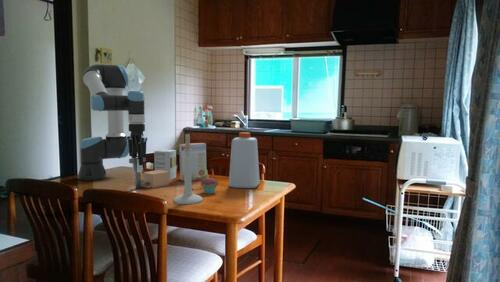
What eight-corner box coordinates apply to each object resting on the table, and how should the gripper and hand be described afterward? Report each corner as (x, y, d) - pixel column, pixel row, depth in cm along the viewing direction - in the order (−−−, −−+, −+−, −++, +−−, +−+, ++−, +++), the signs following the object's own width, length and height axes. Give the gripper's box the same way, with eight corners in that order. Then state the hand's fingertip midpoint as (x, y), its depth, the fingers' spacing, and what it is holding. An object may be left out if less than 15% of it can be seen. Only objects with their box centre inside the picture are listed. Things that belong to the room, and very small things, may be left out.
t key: (129, 189, 179) (128, 158, 178) (146, 186, 187) (145, 156, 185) (132, 190, 178) (131, 159, 176) (149, 187, 185) (148, 157, 184)
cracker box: (203, 178, 214) (203, 142, 212) (206, 180, 208) (206, 143, 206) (179, 180, 208) (179, 143, 206) (182, 182, 202) (181, 144, 200)
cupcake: (210, 195, 174) (210, 170, 173) (196, 192, 179) (196, 168, 178) (221, 191, 182) (221, 167, 180) (207, 189, 186) (207, 165, 185)
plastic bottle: (233, 181, 205) (233, 131, 202) (260, 183, 202) (261, 131, 199) (227, 187, 190) (227, 133, 187) (256, 189, 187) (256, 134, 185)
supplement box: (169, 182, 204) (169, 151, 202) (154, 181, 205) (153, 151, 204) (176, 178, 213) (176, 149, 211) (161, 177, 215) (161, 149, 213)
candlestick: (200, 196, 172) (199, 132, 170) (204, 203, 160) (204, 134, 157) (172, 198, 169) (171, 132, 166) (174, 205, 157) (173, 134, 154)
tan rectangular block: (140, 186, 187) (140, 172, 187) (159, 182, 196) (159, 169, 196) (150, 188, 182) (150, 174, 182) (169, 184, 191) (169, 171, 191)
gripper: (120, 123, 180) (121, 170, 183) (139, 124, 170) (140, 174, 173) (133, 122, 186) (135, 168, 189) (153, 123, 176) (154, 172, 178)
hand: (137, 171), depth 181 cm, fingers open, 3 cm apart
